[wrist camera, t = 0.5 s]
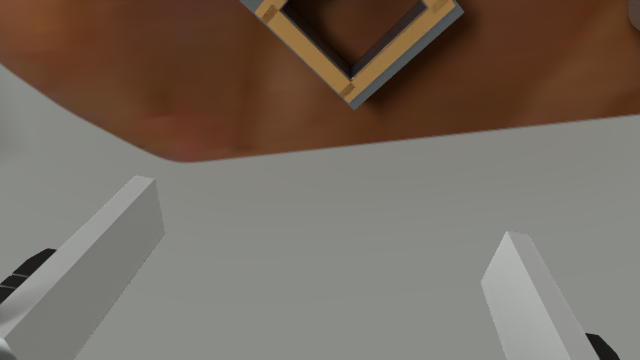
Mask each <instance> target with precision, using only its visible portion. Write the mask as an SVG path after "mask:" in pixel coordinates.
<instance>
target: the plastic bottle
mask: <svg viewBox="0 0 640 360" xmlns="http://www.w3.org/2000/svg"><path fill="white" fill-rule="evenodd" d="M627 14H628V17H629V21H630V22H631V23H632V25H633V26H634V27H635V28H636V29H638V30H639V31H640V0H628V5H627Z"/></svg>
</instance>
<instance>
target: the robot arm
mask: <svg viewBox="0 0 640 360" xmlns="http://www.w3.org/2000/svg"><path fill="white" fill-rule="evenodd" d="M164 234H165V230H164V225H163V220H162V214H161V209H160V203H159V198H158V193H157V187H156V181H155V179H154V178H147V177H141V176H135V177H133V178H132V179H131V181H130V182H128V183H127V184H126V185H125V186H124V187H123V188H122V189H121V190H120V191H119V192H118V193H117V194H116V195H115V196H114V197H112V198H111V199H110V200H109V201H108V202H107V203H106V204H105V205H104V206H103V207H102V208H101V209H100V210H99V211H98V212H97V213H96V214H95V215H94V216H93V217H92V218H90V220H88V221H87V222H86V223H85V224H84V225H83V226H82V227H81V228H80V229H79V230H78V231H77V232H76V233H75V234H74V235H73V236H72V237H71V238H70V239H69V240H67V241H66V242H65V243H64V244H63V246H61V247H60V248H59V249H58V250H55V249H49V248H48V249H45V250H43V251H42V252H40V253H38V254H36V255H35V256H33V257H31V258H29V259H28V260H26V261H25V262H24V263H23V264H22V265H21V266H20V267H19V268H18V269H16V270H15V271H14V272H13V274H12V276H9V277H8V278H6V279H5V280H4V281H3V282H2V283H1V284H0V360H74V358H75V357H76V356H77V354H78V353H79V352H80V350H81V349H82V348H83V346H84V345H85V343H86V342H87V341H88V339H89V338H90V336H91V335H92V334H93V332H94V331H95V330H96V328H97V327H98V325H99V324H100V323H101V321H102V320H103V319H104V317H105V316H106V314H107V313H108V311H109V310H110V309H111V307H112V306H113V305H114V303H115V302H116V301H117V299H118V298H119V296H120V295H121V294H122V292H123V291H124V290H125V288H126V287H127V285H128V284H129V283H130V281H131V280H132V278H133V277H134V276H135V274H136V273H137V272H138V270H139V269H140V267H141V266H142V265H143V263H144V262H145V260H146V259H147V258H148V256H149V255H150V254H151V252H152V251H153V249H154V248H155V247H156V245H157V244H158V243H159V241H160V240H161V238H162V237H163V236H164ZM481 286H482V288H483V291H484V294H485V297H486V300H487V303H488V306H489V309H490V312H491V315H492V317H493V320H494V324H495V326H496V329H497V332H498V335H499V338H500V341H501V344H502V347H503V350H504V353H505V356H506V359H507V360H620V359H619V357H618V355H617V354H616V353H615V352H614V351H613V349H612V348H611V347H610V346H609V345H607V343H606V342H605V341H604V340H603V339H602V338H601V337H600V336H599V335H594V334H588V333H584V331H583V329H582V328H581V326H580V324H579V322H578V321H577V319H576V317H575V315H574V314H573V312H572V310H571V308H570V307H569V305H568V303H567V301H566V299H565V298H564V296H563V294H562V293H561V291H560V289H559V287H558V285H557V284H556V282H555V280H554V278H553V277H552V275H551V273H550V272H549V270H548V268H547V266H546V264H545V263H544V261H543V259H542V258H541V256H540V254H539V252H538V251H537V249H536V247H535V245H534V244H533V242H532V240H531V238H530V236H529V235H528V234H524V233H517V232H510V231H506V233H505V235H504V237H503V239H502V241H501V243H500V245H499V247H498V249H497V251H496V253H495V255H494V257H493V259H492V261H491V263H490V265H489V267H488V269H487V271H486V273H485V275H484V277H483V279H482V280H481Z"/></svg>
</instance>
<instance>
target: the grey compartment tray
mask: <svg viewBox="0 0 640 360" xmlns="http://www.w3.org/2000/svg"><path fill="white" fill-rule="evenodd" d="M240 1H241V2H242V3H243V4H244V5H245V6H246V7H247V8H248V9H249V10H250V11H251V12H252V13H253V14H254V15H255V16H256V17H257V18H258V19H259V20H260V21H262V22H263V23H264V24H265V25H266V26H267V27H268V28H269V29H270V30H271V31H272V32H273V33H274V34H275V35H276V36H277V37H278V38H279V39H280V40H281V41H282V42H283V43H284V44H286V45H287V46H288V47H289V48H290V49H291V50H292V51H293V52H294V53H295V54H296V55H297V56H298V57H299V58H300V59H301V60H302V61H303V62H304V63H305V64H306V65H307V66H309V67H310V68H311V69H312V70H313V71H314V72H315V73H316V74H317V75H318V76H319V77H320V78H321V79H322V80H323V81H324V82H325V83H326V84H327V85H328V86H329V87H330V88H331V89H333V90H334V91H335V92H336V93H337V94H338V95H339V96H340V97H341V98H342V99H343V100H344V101H345V102H346V103H347V104H348V105H349V106H350V107H351V108H352V109H353V110H355V109H356V108H357V107H358V106H359V105H361V104H362V103H363V102H364V101H365V100H366V99H367V98H368V97H370V96H371V95H372V94H373V93H374V92H375V91H376V90H377V89H379V88H380V87H381V86H382V85H383V84H384V83H385V82H386V81H388V80H389V79H390V78H391V77H392V76H393V75H394V74H395V73H397V72H398V71H399V70H400V69H401V68H402V67H403V66H404V65H406V64H407V63H408V62H409V61H410V60H411V59H412V58H413V57H415V56H416V55H417V54H418V53H419V52H420V51H421V50H422V49H424V48H425V47H426V46H427V45H428V44H429V43H430V42H431V41H433V40H434V39H435V38H436V37H437V36H438V35H439V34H440V33H442V32H443V31H444V30H445V29H446V28H447V27H448V26H449V25H451V24H452V23H453V22H454V21H455V20H456V19H457V18H458V17H460V16H461V15H462V14H463V13H464V11H463V10H462V8H461V7H460V6H459V4H458V3H457V2H456V0H420V1H419V2H418V3H417V4H416V5H415V6H414V7H413V8H412V9H411V10H410V11H408V12H407V13H406V14H405V15H404V16H403V17H402V18H401V19H400V20H399V21H398V22H397V23H396V24H395V25H394V26H393V27H392V28H391V29H390V30H389V31H388V32H387V33H386V34H385V35H384V36H383V37H382V38H381V39H380V40H379V41H378V42H377V43H376V44H374V45H373V46H372V47H371V48H370V49H369V50H368V51H367V52H366V53H365V54H364V55H363V56H362V57H361V58H360V59H359V60H358V61H357V62H356V63H355V64H354V65H353V66H352V67H350V66H349V65H348V64H347V63H346V62H345V61H344V60H343V59H342V58H341V57H340V56H339V55H338V54H337V53H336V52H335V51H334V50H333V49H332V48H331V47H330V46H329V45H328V44H327V43H326V42H325V41H324V40H323V39H322V38H321V37H320V36H319V35H318V34H317V33H316V32H315V31H314V30H313V29H312V28H311V27H310V26H309V24H308V23H307V22H306V21H305V20H304V19H303V18H302V17H301V16H300V15H299V14H298V13H297V12H296V11H295V10H294V9H293V8H292V7H291V6H290V5H289V4H288V3H287V2H288V0H240Z"/></svg>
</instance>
